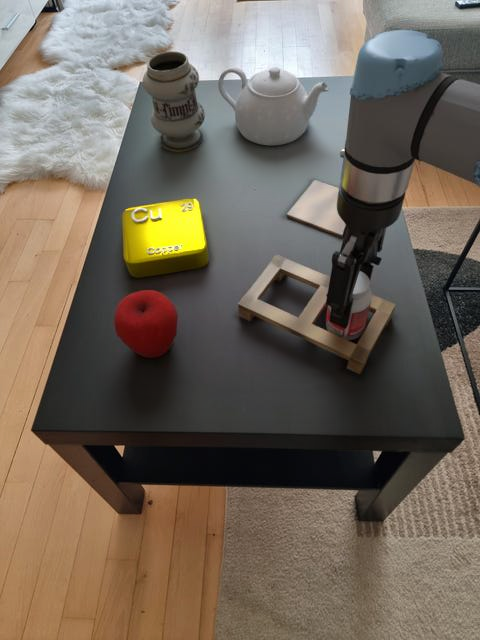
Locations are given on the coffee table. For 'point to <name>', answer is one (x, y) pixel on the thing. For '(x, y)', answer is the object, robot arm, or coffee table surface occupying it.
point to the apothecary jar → (174, 100)
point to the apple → (146, 322)
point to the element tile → (164, 238)
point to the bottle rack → (313, 312)
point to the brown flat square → (319, 208)
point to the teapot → (272, 105)
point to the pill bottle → (354, 311)
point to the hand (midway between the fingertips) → (348, 307)
